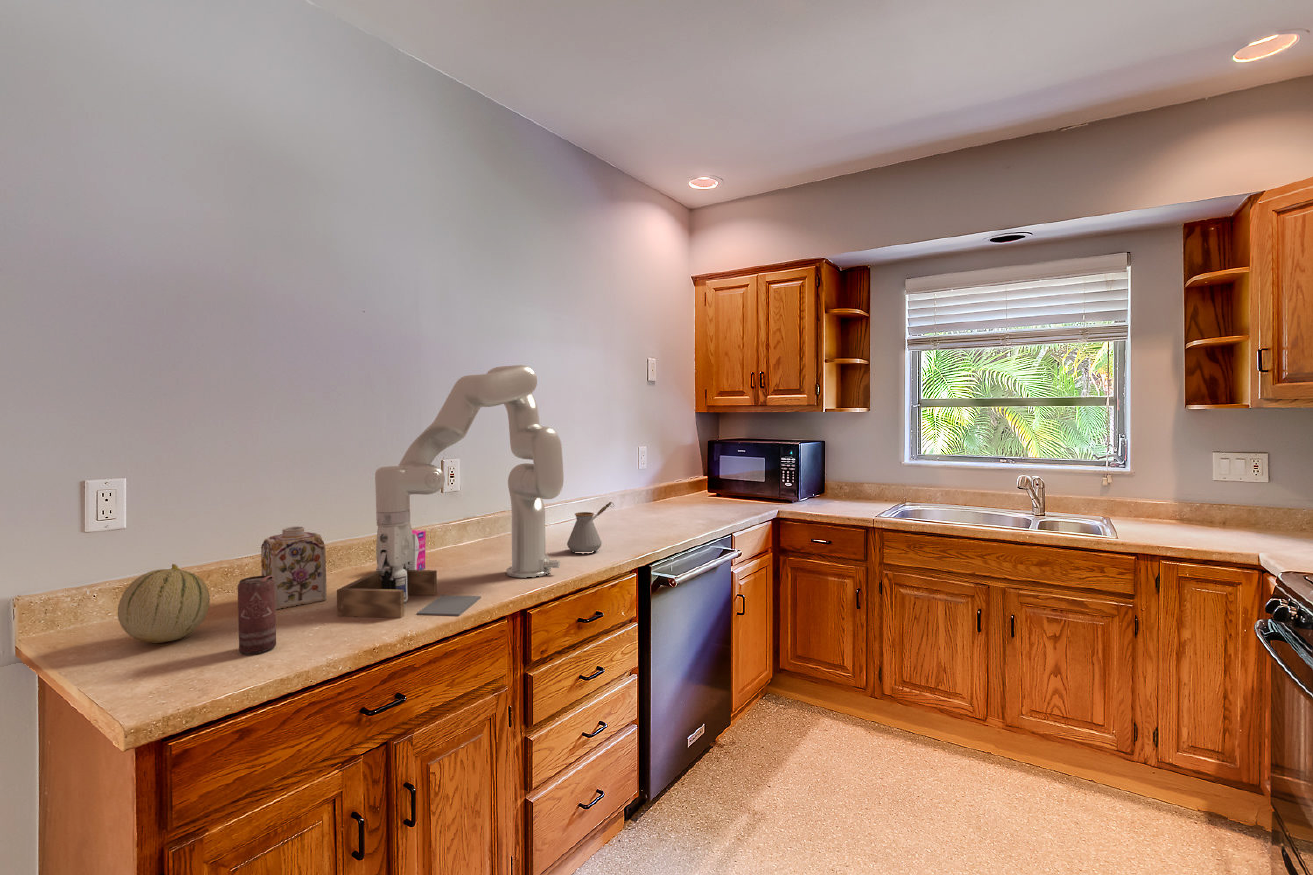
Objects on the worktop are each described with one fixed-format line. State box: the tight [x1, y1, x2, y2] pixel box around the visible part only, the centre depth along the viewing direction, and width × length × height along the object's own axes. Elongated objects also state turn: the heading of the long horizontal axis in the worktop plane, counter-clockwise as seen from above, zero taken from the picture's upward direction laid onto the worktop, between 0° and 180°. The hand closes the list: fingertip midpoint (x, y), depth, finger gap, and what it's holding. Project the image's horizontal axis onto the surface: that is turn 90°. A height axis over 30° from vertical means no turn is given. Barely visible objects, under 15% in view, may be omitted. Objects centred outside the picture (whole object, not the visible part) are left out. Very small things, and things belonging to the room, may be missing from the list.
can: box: [237, 575, 277, 656], centre depth 122 cm, size 6×6×14 cm
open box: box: [336, 569, 438, 619], centre depth 152 cm, size 15×19×6 cm
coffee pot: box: [566, 501, 615, 552], centre depth 213 cm, size 21×12×15 cm, turn 148°
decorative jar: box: [260, 525, 327, 611], centre depth 154 cm, size 12×12×18 cm
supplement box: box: [408, 529, 427, 570], centre depth 184 cm, size 6×6×12 cm
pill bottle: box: [386, 564, 409, 603], centre depth 152 cm, size 5×5×10 cm
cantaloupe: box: [117, 563, 211, 644], centre depth 127 cm, size 15×15×15 cm
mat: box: [416, 594, 482, 617], centre depth 150 cm, size 10×14×1 cm
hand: (395, 591), depth 152 cm, fingers closed on pill bottle, 5 cm apart
